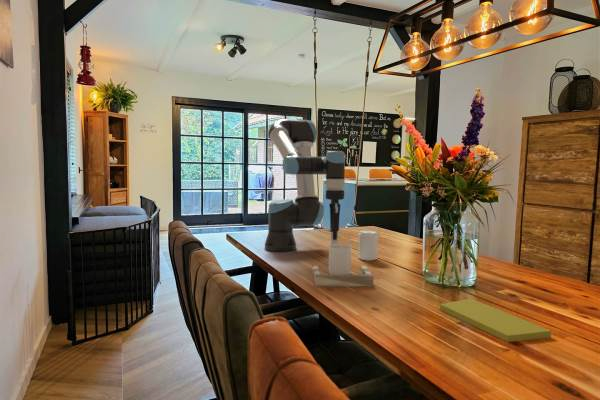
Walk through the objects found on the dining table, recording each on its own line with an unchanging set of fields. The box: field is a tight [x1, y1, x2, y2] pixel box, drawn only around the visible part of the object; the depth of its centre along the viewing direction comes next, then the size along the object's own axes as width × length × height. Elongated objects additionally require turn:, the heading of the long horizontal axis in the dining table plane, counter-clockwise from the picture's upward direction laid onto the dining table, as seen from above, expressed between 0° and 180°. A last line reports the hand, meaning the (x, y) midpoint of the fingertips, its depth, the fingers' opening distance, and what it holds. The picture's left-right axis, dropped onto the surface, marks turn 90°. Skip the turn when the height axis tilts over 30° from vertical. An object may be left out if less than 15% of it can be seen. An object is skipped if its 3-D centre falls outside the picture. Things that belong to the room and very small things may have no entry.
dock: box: [312, 265, 375, 287], centre depth 137 cm, size 13×20×4 cm, turn 92°
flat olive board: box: [439, 298, 552, 343], centre depth 102 cm, size 12×2×24 cm
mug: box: [328, 243, 352, 274], centre depth 147 cm, size 12×8×10 cm
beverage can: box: [357, 229, 379, 262], centre depth 167 cm, size 8×8×12 cm
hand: (334, 247), depth 158 cm, fingers closed
